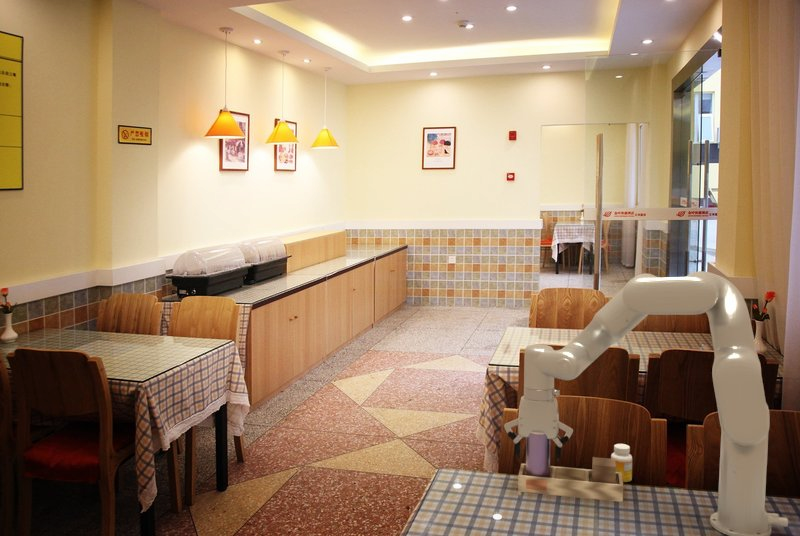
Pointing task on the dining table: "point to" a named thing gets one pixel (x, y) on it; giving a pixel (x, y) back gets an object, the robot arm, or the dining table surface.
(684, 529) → the dining table surface
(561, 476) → the rack
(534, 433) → the beverage can
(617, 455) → the supplement bottle
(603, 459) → the walnut block
